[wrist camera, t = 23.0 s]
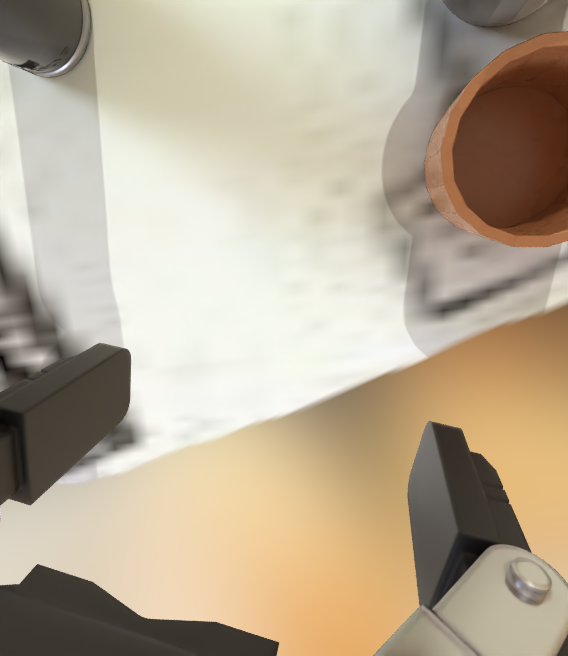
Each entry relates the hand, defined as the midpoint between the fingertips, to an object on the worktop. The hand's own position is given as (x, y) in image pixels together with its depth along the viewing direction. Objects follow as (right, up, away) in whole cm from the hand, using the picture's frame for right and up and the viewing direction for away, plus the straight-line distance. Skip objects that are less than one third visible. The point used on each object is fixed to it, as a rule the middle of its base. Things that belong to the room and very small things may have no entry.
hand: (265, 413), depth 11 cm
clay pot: (+18, +16, +23) cm, 33 cm away
